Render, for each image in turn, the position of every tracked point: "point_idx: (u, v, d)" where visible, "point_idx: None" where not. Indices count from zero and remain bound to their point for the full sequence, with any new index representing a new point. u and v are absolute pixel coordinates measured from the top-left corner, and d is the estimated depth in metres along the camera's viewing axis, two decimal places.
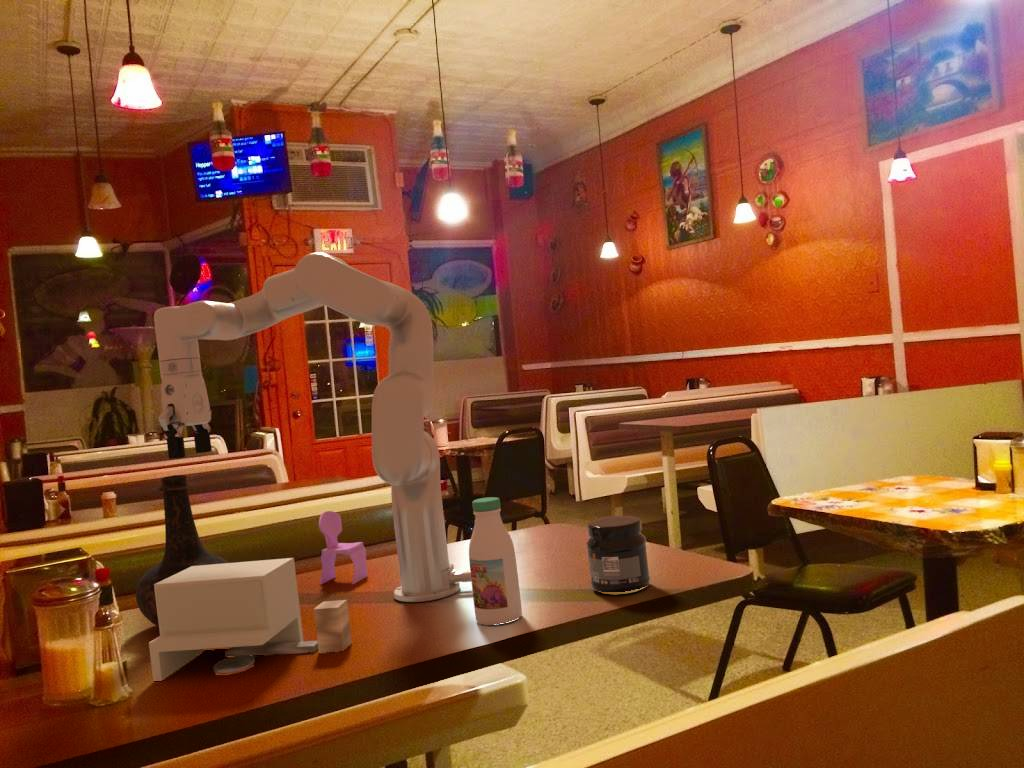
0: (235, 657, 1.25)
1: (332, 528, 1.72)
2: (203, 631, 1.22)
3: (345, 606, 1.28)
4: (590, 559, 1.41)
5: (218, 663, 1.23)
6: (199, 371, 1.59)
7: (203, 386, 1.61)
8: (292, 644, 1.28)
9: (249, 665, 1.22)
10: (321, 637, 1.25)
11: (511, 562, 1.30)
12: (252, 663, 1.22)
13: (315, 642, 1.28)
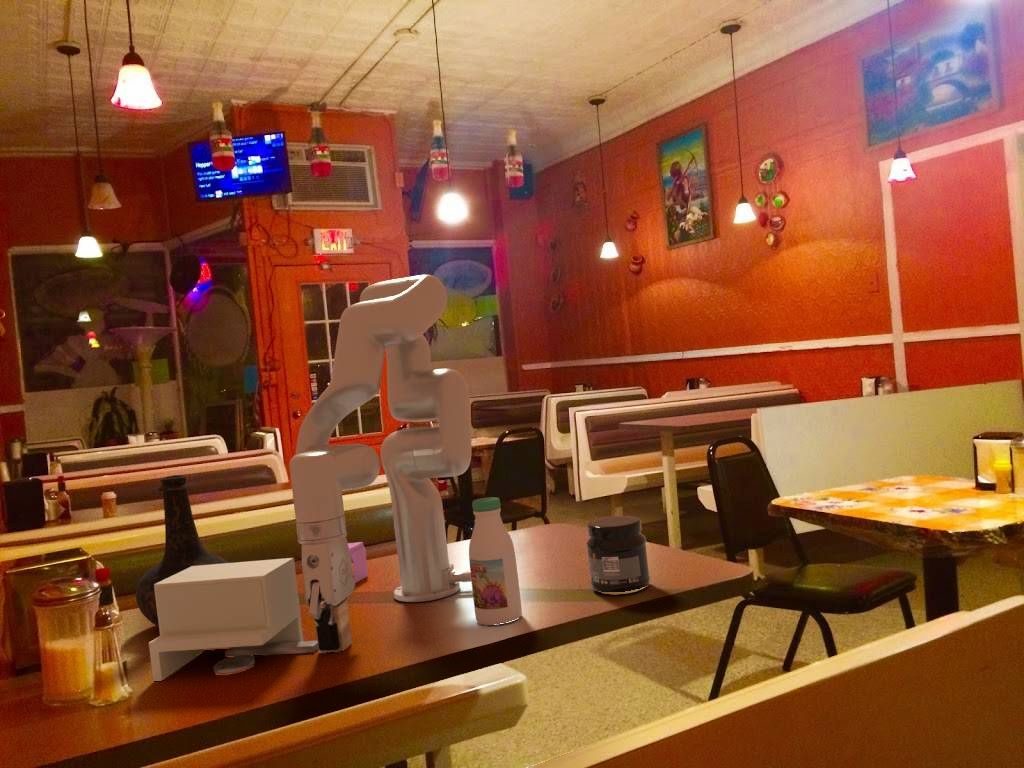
0: (235, 657, 1.25)
1: None
2: (203, 631, 1.22)
3: (345, 606, 1.28)
4: (590, 559, 1.41)
5: (218, 663, 1.23)
6: (345, 532, 1.26)
7: (347, 547, 1.29)
8: (292, 644, 1.28)
9: (249, 665, 1.22)
10: None
11: (511, 562, 1.30)
12: (252, 663, 1.22)
13: (315, 642, 1.28)
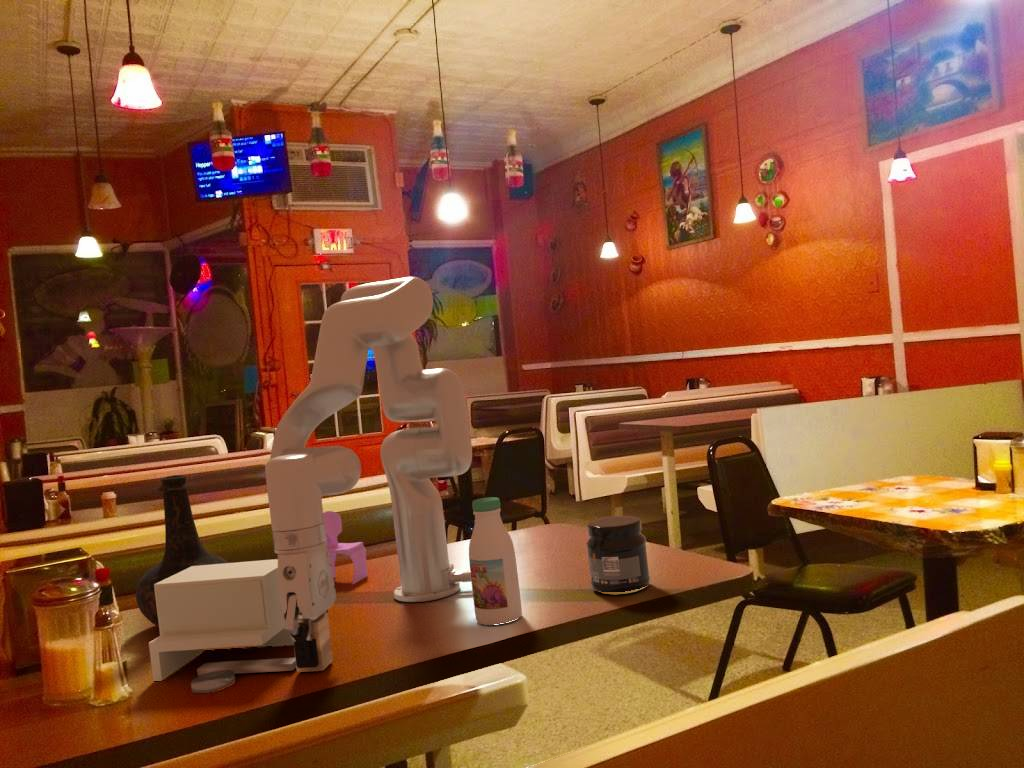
0: (213, 672, 1.19)
1: (332, 528, 1.72)
2: (203, 631, 1.22)
3: (326, 621, 1.19)
4: (590, 559, 1.41)
5: (195, 679, 1.17)
6: (325, 541, 1.18)
7: (327, 557, 1.21)
8: (269, 661, 1.20)
9: (229, 681, 1.15)
10: None
11: (511, 562, 1.30)
12: (232, 678, 1.16)
13: (293, 659, 1.19)
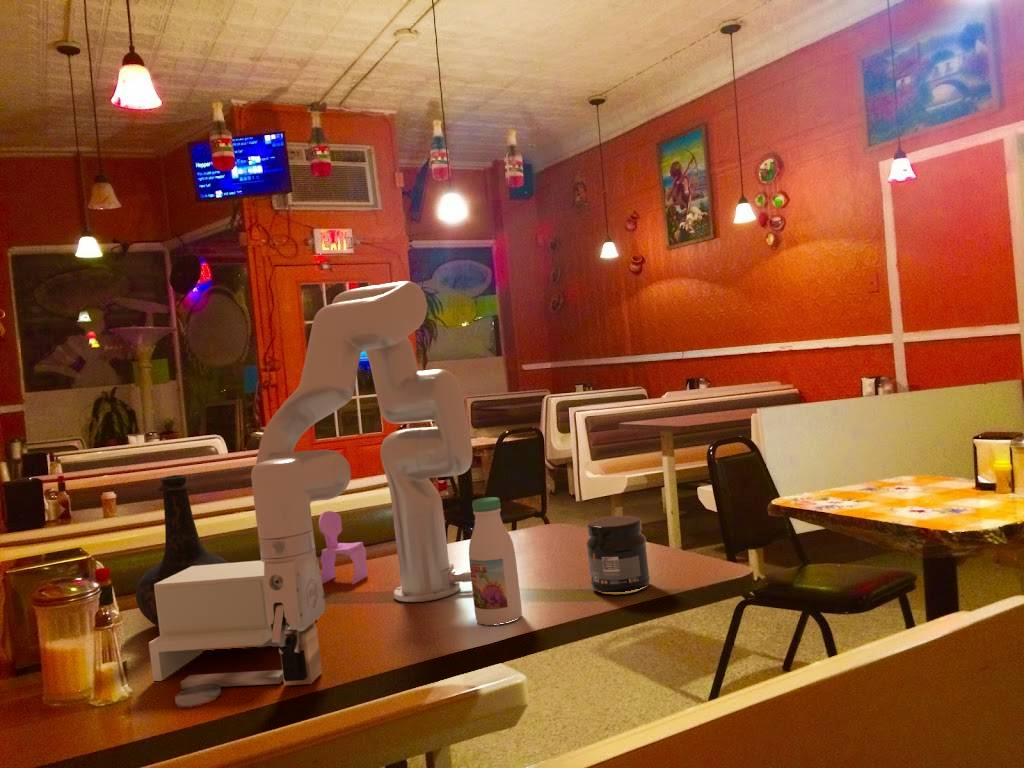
0: (198, 686, 1.14)
1: (332, 528, 1.72)
2: (203, 631, 1.22)
3: (314, 632, 1.15)
4: (590, 559, 1.41)
5: (179, 694, 1.12)
6: (313, 549, 1.14)
7: (316, 565, 1.17)
8: (255, 674, 1.15)
9: (216, 695, 1.11)
10: None
11: (511, 562, 1.30)
12: (219, 692, 1.12)
13: (281, 672, 1.15)
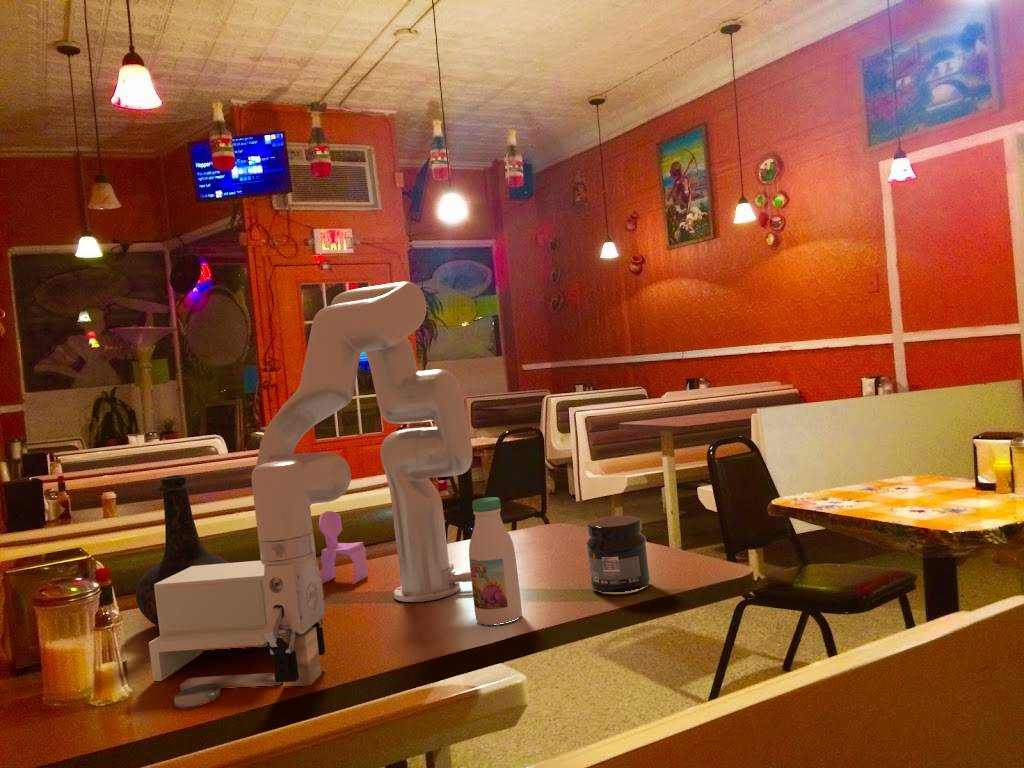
0: (197, 686, 1.14)
1: (332, 528, 1.72)
2: (203, 631, 1.22)
3: (313, 634, 1.15)
4: (590, 559, 1.41)
5: (178, 694, 1.12)
6: (313, 551, 1.14)
7: (316, 567, 1.16)
8: (255, 676, 1.15)
9: (215, 695, 1.11)
10: None
11: (511, 562, 1.30)
12: (218, 693, 1.11)
13: None
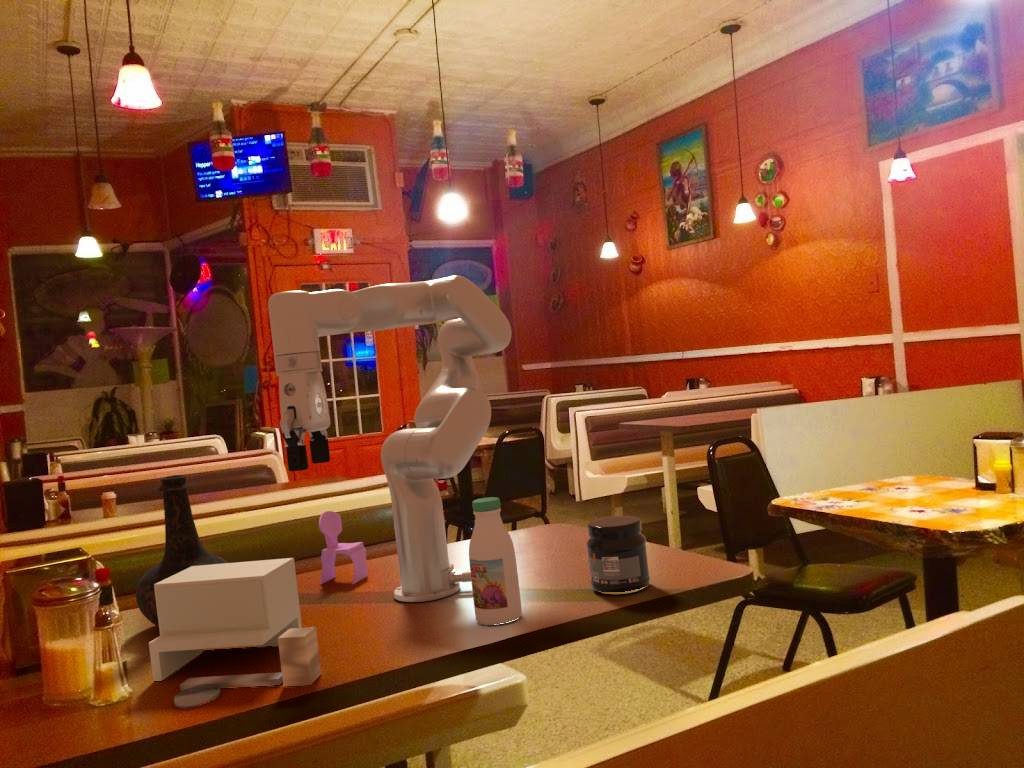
0: (197, 686, 1.14)
1: (332, 528, 1.72)
2: (203, 631, 1.22)
3: (313, 634, 1.15)
4: (590, 559, 1.41)
5: (179, 694, 1.12)
6: (320, 367, 1.34)
7: (322, 385, 1.37)
8: (255, 676, 1.15)
9: (214, 695, 1.11)
10: (286, 669, 1.12)
11: (511, 562, 1.30)
12: (218, 693, 1.11)
13: (280, 674, 1.15)
